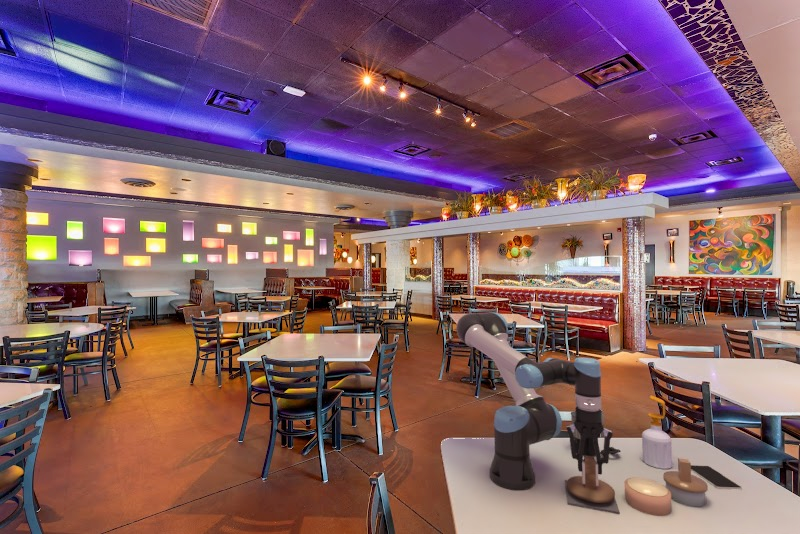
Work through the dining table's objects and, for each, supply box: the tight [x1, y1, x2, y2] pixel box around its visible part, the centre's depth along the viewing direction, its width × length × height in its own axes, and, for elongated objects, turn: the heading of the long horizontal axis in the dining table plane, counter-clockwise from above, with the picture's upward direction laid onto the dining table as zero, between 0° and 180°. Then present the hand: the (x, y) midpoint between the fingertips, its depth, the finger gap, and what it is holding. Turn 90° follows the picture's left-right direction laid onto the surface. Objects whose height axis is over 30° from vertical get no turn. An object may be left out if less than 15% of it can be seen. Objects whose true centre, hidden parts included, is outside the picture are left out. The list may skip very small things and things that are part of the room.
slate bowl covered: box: [662, 457, 708, 508], centre depth 119 cm, size 11×11×11 cm
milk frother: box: [570, 410, 622, 457], centre depth 150 cm, size 14×16×15 cm
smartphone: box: [691, 464, 742, 490], centre depth 131 cm, size 8×1×15 cm
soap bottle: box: [641, 395, 673, 470], centre depth 142 cm, size 9×9×25 cm
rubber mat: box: [564, 479, 620, 515], centre depth 120 cm, size 14×14×1 cm
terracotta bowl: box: [624, 477, 672, 517], centre depth 116 cm, size 12×12×5 cm
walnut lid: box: [567, 455, 616, 503], centre depth 120 cm, size 14×14×10 cm
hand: (590, 482), depth 120 cm, fingers closed on walnut lid, 3 cm apart
